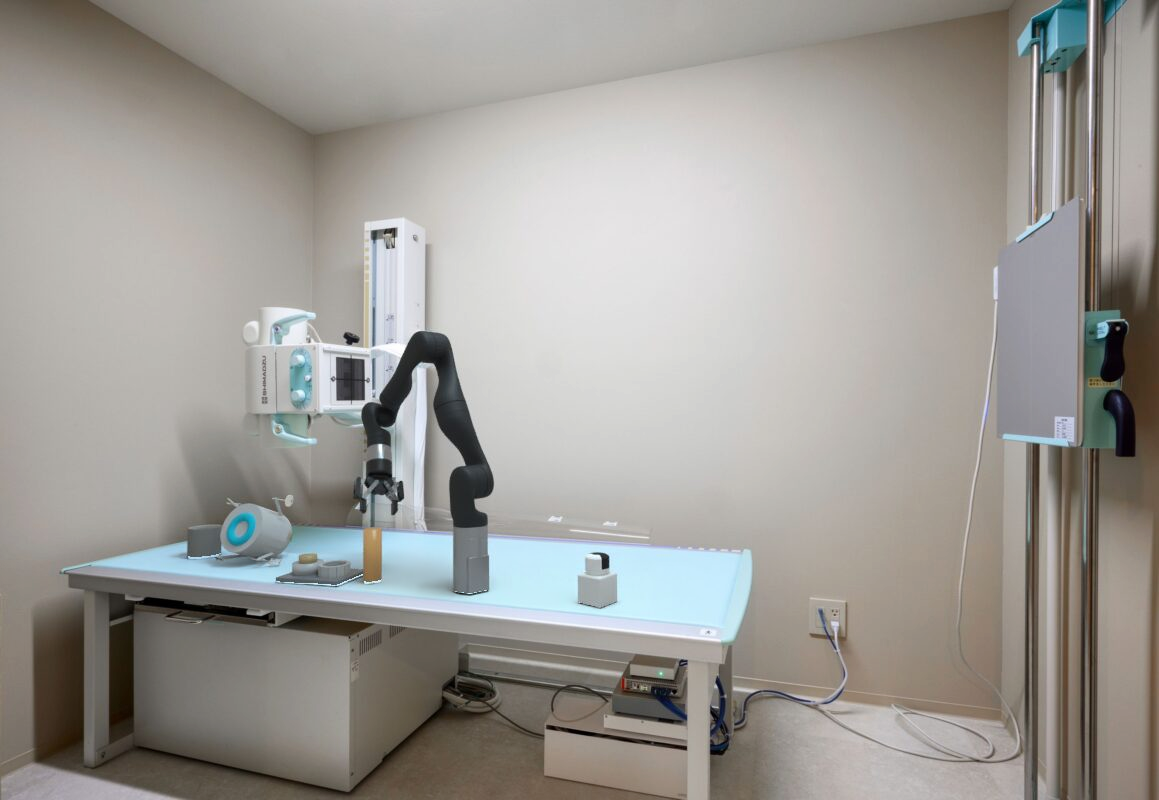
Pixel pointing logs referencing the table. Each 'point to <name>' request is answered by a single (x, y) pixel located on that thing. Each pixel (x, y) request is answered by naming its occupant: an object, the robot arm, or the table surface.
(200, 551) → the coffee mug
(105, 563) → the table surface
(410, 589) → the table surface
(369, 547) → the cylinder
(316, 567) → the housing
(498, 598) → the table surface
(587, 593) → the medicine bottle
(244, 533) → the satellite
